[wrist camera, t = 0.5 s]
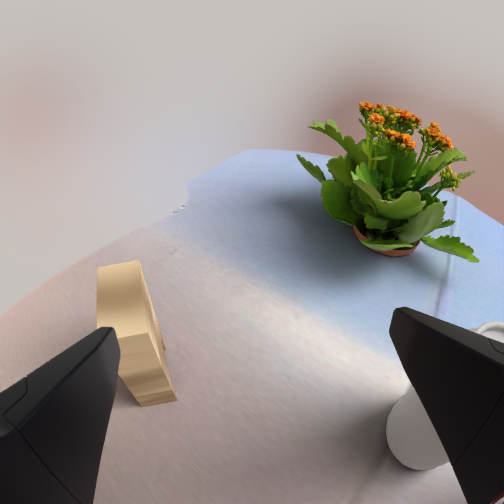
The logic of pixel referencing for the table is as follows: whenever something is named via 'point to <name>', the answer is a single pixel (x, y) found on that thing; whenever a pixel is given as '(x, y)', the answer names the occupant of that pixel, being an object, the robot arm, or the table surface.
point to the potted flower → (391, 183)
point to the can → (423, 422)
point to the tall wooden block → (134, 332)
